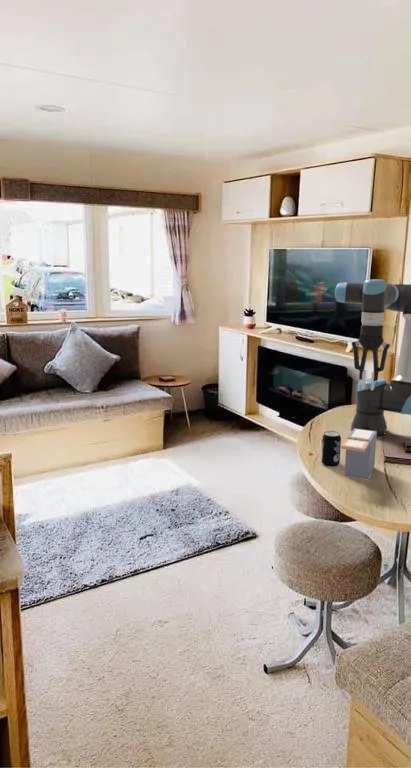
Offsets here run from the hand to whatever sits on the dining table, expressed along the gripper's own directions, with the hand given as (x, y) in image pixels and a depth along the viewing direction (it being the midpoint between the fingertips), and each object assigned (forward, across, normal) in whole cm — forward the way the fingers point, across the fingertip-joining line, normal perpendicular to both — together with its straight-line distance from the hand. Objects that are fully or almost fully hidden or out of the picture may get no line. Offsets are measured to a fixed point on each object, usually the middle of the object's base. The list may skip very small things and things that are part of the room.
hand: (367, 388), depth 201 cm
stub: (+16, +1, -20) cm, 25 cm away
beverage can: (+29, -11, -6) cm, 31 cm away
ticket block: (+29, +1, -9) cm, 30 cm away
